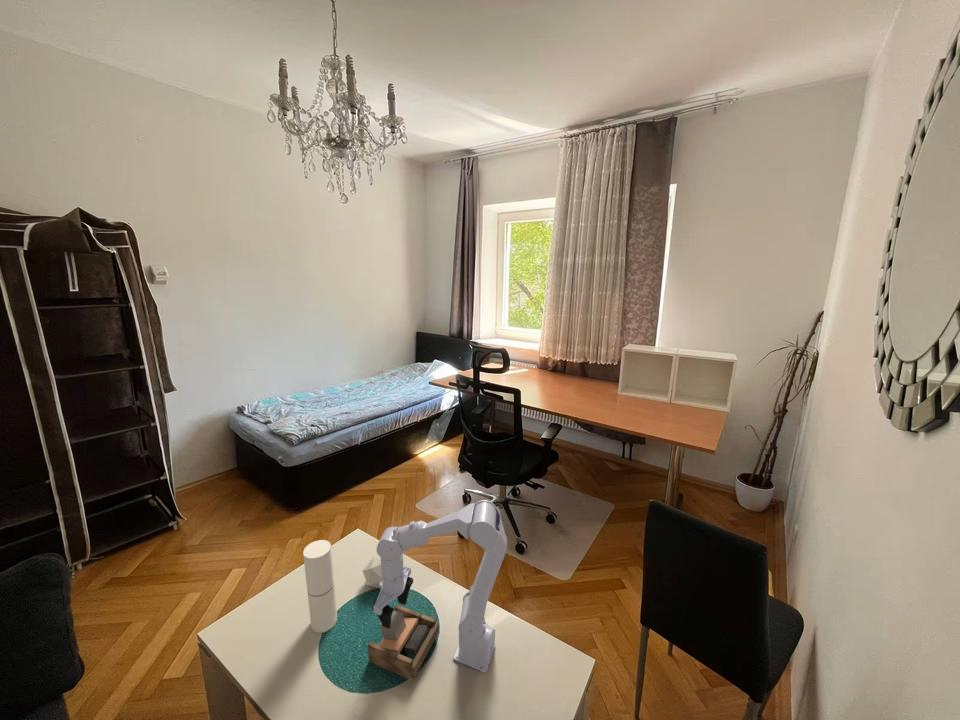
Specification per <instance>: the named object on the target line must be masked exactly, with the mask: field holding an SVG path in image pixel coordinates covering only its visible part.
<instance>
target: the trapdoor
mask: <svg viewBox="0 0 960 720" xmlns="http://www.w3.org/2000/svg"><path fill="white" fill-rule="evenodd" d="M403 618H404V621H405V623H406V628H405V629H404V631H403V632H402V634H401V635H400V637H399V639H398V640H389V639H384V637H383V638H382V640H380V643H379V644H378V645H380V646H383V647H385V648H387V649H389V650H392V651H394V652H398V653H399V654H401V651H402V650H403V649H404V650H405V654H406V655H409V656H416V655H417V653H418V651H419V650H420V648H421V646H422V644H423V642H424V641H425V639H426V637H427V635H428V633H429V630H428V627H427V626H426V625H418V626H417V627H416V625H417V624H418V622H419V621H418V618H406V617H403ZM415 627H416V629H415ZM414 629H415V630H414Z"/></svg>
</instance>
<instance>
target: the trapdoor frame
mask: <svg viewBox="0 0 960 720" xmlns="http://www.w3.org/2000/svg"><path fill="white" fill-rule="evenodd" d="M393 608H394V611H396V612H402V615H403V617H406V618H418V621H419V622H418V624H417V625H416V627H417V626H418V625H426V626H427V627H428V630H429V633H428V635H427V637H426V638H425V640H424V642H423V644H422V646H421V647H420V649H419V651H418V653H417V654H416V655H415V657H414V658H413V659H412V658H410V657H408V656H405V655H403V654H401V653H398V652H394V651H392V650H389V649H387V648H385V647H383V646H380V645H379V644H378V643H375V642H373V641H372V640H370V641H369V643H367V650H368V653H367V654H368V662H371V663H372V664H375V665H377V666H379V667H381V668H383V669H385V670H387V671H390V672H391V673H393V674H397V675H399V676H401V677H403V678H405V679H407V680H409V681H412V680H413V678H416V675H417V674H418V672H419V669H420V668H421V666H422V664H423V663H424V660H425V659H426V657H427V656H428V654H429V651H430V650H431V648H432V646H433V644H434V642H435V640H436V638H437V636H439V635H438V634H439V633H440V623H439V622H437V621H436V619H435V618H433V617H431V616H427V615H425V614H424V613H422V612H421V613H420V612H417V611H415V610H413V609H410V608H407V607H404V606H401V605H400V604H395V605H394V607H393ZM416 627H415V629H416ZM415 629H414V630H413V631H415Z"/></svg>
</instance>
